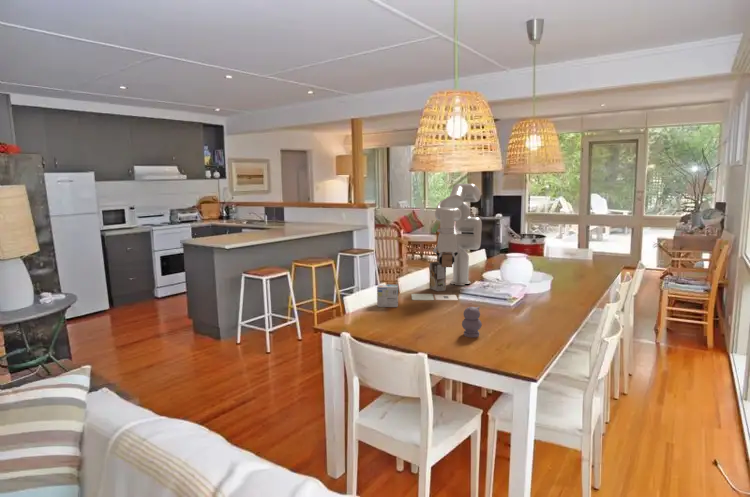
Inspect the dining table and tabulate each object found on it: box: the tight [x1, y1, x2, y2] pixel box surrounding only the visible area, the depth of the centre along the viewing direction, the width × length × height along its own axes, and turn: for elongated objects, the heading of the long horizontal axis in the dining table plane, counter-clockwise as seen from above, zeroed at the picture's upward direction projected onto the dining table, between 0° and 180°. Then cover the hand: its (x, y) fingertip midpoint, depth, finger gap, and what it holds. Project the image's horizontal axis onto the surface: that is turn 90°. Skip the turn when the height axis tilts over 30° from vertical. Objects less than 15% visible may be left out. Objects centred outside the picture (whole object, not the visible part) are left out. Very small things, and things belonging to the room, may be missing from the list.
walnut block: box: [441, 252, 453, 268], centre depth 253 cm, size 6×6×7 cm
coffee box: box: [429, 261, 447, 292], centre depth 275 cm, size 9×6×16 cm
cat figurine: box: [461, 306, 483, 338], centre depth 192 cm, size 8×8×12 cm
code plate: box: [434, 294, 459, 301], centre depth 256 cm, size 12×12×1 cm
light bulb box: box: [376, 283, 399, 308], centre depth 239 cm, size 11×7×11 cm, turn 84°
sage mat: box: [410, 293, 435, 301], centre depth 257 cm, size 14×12×1 cm
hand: (446, 263), depth 254 cm, fingers closed on walnut block, 5 cm apart
